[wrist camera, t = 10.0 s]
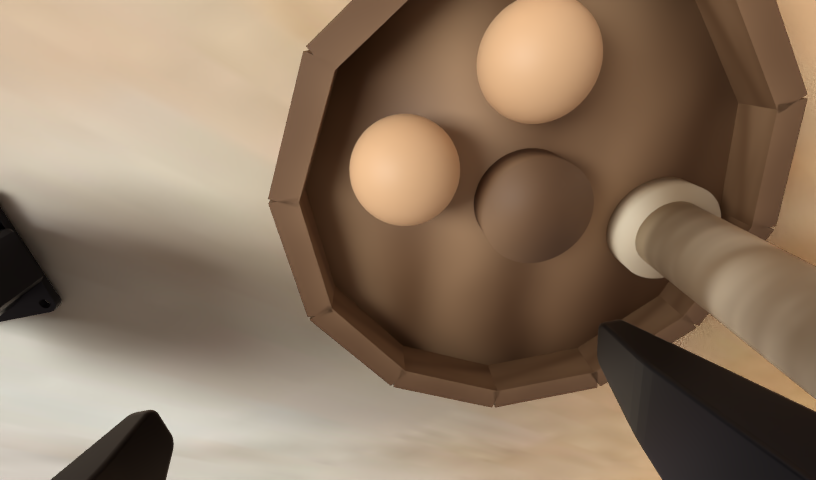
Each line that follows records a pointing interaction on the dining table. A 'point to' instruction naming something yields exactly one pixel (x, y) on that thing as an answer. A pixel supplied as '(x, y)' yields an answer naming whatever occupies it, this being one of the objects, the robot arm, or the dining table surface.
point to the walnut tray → (524, 186)
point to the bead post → (721, 270)
